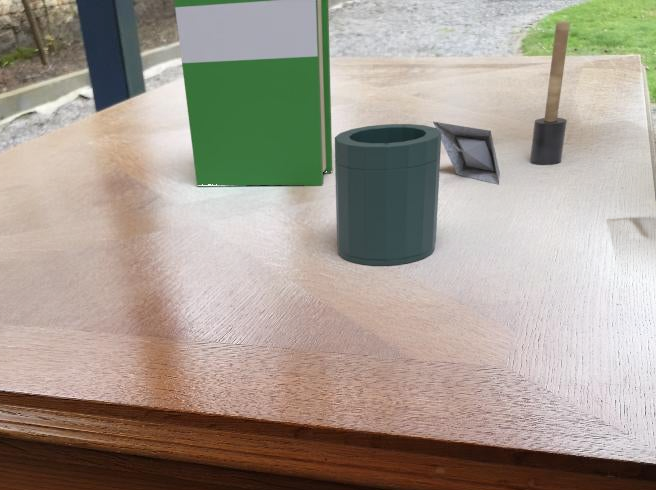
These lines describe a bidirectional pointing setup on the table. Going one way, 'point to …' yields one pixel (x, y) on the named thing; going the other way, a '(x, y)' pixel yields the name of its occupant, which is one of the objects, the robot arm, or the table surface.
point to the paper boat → (470, 151)
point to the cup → (387, 193)
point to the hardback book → (257, 90)
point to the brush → (552, 107)
